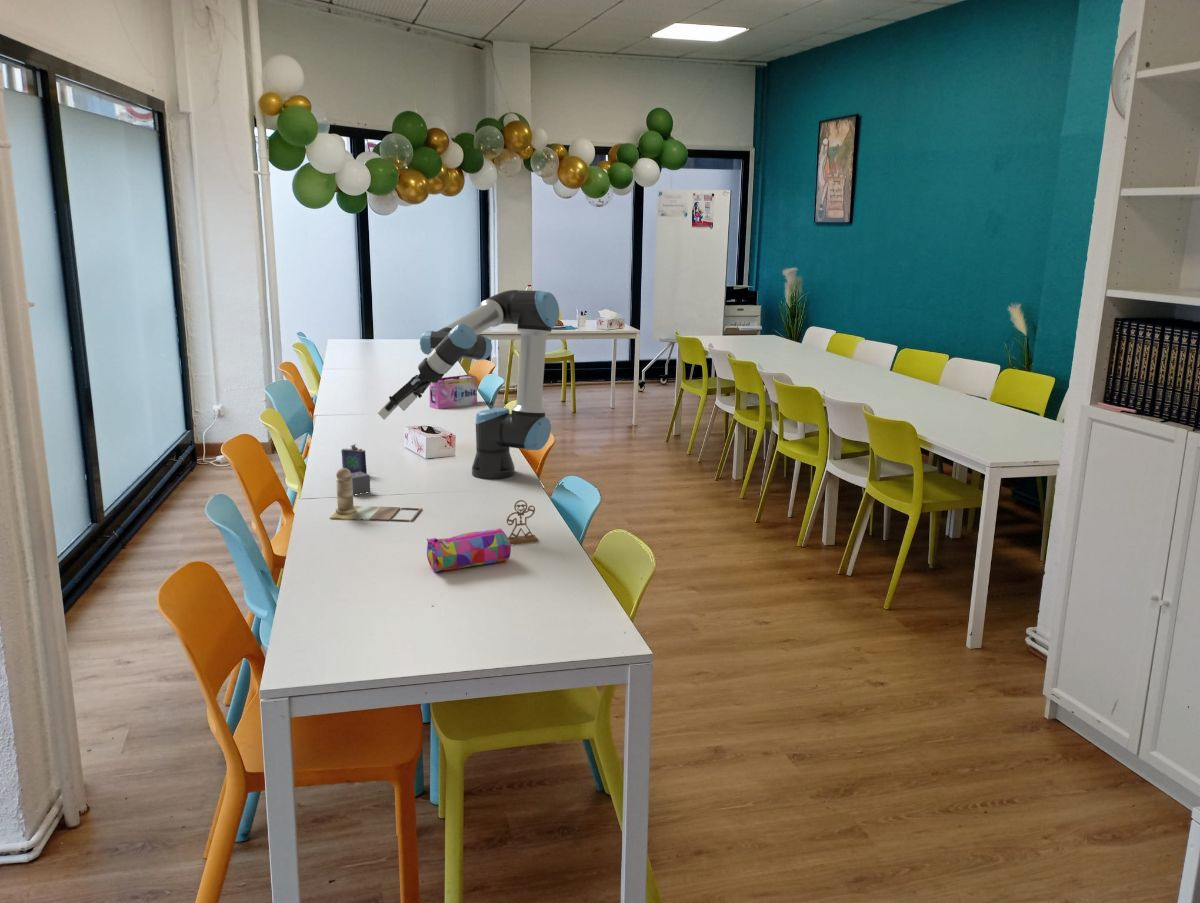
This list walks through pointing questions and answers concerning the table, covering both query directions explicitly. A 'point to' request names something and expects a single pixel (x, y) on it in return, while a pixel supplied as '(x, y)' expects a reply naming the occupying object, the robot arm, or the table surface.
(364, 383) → the table surface
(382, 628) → the table surface
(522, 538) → the gingerbread man figurine
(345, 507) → the pawn
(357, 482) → the die
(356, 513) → the board
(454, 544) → the pencil case
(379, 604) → the table surface
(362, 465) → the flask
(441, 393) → the gum box
